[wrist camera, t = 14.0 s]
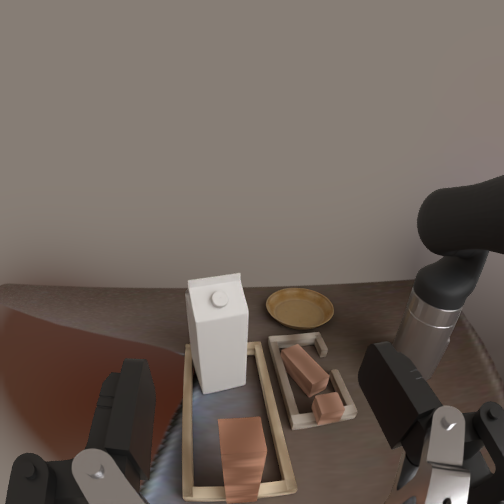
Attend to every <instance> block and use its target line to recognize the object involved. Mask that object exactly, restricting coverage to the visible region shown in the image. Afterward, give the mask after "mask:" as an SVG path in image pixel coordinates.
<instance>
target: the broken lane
mask: <svg viewBox="0 0 504 504" xmlns="http://www.w3.org/2000/svg"><path fill="white" fill-rule="evenodd" d="M268 345H269V349H270V353H271V356H272V360H273V364H274V368H275V371H276V375H277V379H278V382H279V386H280V390H281V393H282V397H283V401H284V404H285V408H286V412H287V415H288V419H289V422H290V426H291V430H297V429H303V428H309V427H315V426H320V425H326V424H331V423H335V422H340V421H345V420H349V419H353V418H355V416H356V414H357V412H358V411H357V409H356V407H355V405H354V403H353V401H352V398H351V396H350V394H349V392H348V390H347V388H346V386H345V384H344V382H343V380H342V378H341V375H340V373H339V371H338V369H334V370H331V371H330V374H329V375H328V374H327V373H326V372H325V371H324V370H323V369H322V368H321V367H320V366H319V365H318V364H317V363H316V362H315V361H314V360H313V359H312V358H311V357H310V356H309V355H308V354H307V353H306V352H305V351H304V350H303V349H302V348H301V346H308V345H315V347H316V349H317V352H318V354H319V356H320V357H326V355H327V351H328V349H327V347H326V345H325V343H324V341H323V339H322V336H321V334H320V332H314V333H304V334H292V335H280V336H269V338H268ZM279 348H285V349H283V350H281V354H280V351H279ZM286 372H287V373H288V374H289V375H290V376H291V378H292V379H293V380H294V381H295V382H296V383H297V385H298V386H299V387H300V388H301V389H302V390H303V391H304V393H305V394H306V395H307V396H308V397H311V396H313V395H315V394H317V393H319V392H321V391H323V390H325V389H326V386H327V383H328V380H329V379H330V381H331V383H332V386H333V388H334V390H335V392H334V393H328V394H322V395H316V396H315V398H314V401H313V404H312V407H311V408H312V411H313V412H311V413H305V414H299V412H298V409H297V406H296V403H295V399H294V396H293V393H292V390H291V386H290V383H289V380H288V377H287V373H286Z"/></svg>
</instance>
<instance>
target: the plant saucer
mask: <svg viewBox="0 0 504 504" xmlns="http://www.w3.org/2000/svg"><path fill="white" fill-rule="evenodd" d="M266 307H267V310H268V312H269V313H270V315H271V316H272V317H273V318H274V319H275V320H276V321H277V322H279V323H280V324H282V325H284V326H286V327H289V328H292V329H297V330H308V329H313V328H316V327H319V326H321V325H323V324H325V323H326V322H328V321H329V320H330V319H331V318H332V316H333V314H334V307H333V305H332V303H331V301H330V300H329V299H328V298H326V297H325V296H324V295H322V294H320V293H318V292H315V291H312V290H309V289H303V288H287V289H282V290H279V291H276V292H275V293H273V294H271V295H270V296H269V298H268V299H267V302H266Z"/></svg>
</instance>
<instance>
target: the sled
mask: <svg viewBox="0 0 504 504" xmlns="http://www.w3.org/2000/svg"><path fill="white" fill-rule="evenodd" d="M247 355H255V359H256V363H257V368H258V373H259V378H260V382H261V387H262V392H263V396H264V401H265V406H266V410H267V415H268V419H269V424H270V428H271V433H272V437H273V442H274V446H275V451H276V455H277V460H278V464H279V468H280V473H281V477H282V481H275V482H268V483H261V478H262V474H263V469H264V464H265V459H266V454H267V447H266V442H265V438H264V433H263V428H262V423H261V418H260V416H259V417H247V418H232V419H218V425H219V437H220V448H221V458H222V468H223V477H224V485H225V486H216V487H194V472H193V433H192V383H193V362H192V354H191V345H190V344H186V347H185V366H184V386H183V418H182V487H183V499H184V500H185V501H198V502H203V501H227V503H242V502H253V501H257V498H266V497H273V496H280V495H287V494H293V493H295V492H296V491H297V485H296V481H295V477H294V474H293V470H292V466H291V462H290V458H289V454H288V450H287V446H286V442H285V438H284V434H283V431H282V427H281V423H280V419H279V415H278V411H277V407H276V403H275V399H274V394H273V390H272V386H271V382H270V378H269V374H268V370H267V366H266V362H265V358H264V354H263V350H262V345H261V342H247Z"/></svg>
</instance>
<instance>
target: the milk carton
mask: <svg viewBox="0 0 504 504" xmlns="http://www.w3.org/2000/svg"><path fill="white" fill-rule="evenodd" d="M185 296H186V307H187V317H188V327H189V336H190V345H191V354H192V362H193V366H194V369H195V372H196V375H197V378H198V381H199V384H200V386H201V389H202V392H203V394H208V393H213V392H218V391H222V390H226V389H230V388H235V387H239V386H243V385H245V384H246V362H247V338H248V312H249V311H248V307H247V303H246V300H245V296H244V292H243V288H242V285H241V281H240V273H235V274H229V275H222V276H215V277H208V278H201V279H194V280H188V289H187V291H186V293H185Z"/></svg>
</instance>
